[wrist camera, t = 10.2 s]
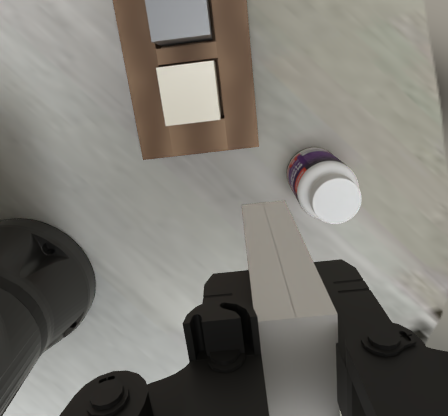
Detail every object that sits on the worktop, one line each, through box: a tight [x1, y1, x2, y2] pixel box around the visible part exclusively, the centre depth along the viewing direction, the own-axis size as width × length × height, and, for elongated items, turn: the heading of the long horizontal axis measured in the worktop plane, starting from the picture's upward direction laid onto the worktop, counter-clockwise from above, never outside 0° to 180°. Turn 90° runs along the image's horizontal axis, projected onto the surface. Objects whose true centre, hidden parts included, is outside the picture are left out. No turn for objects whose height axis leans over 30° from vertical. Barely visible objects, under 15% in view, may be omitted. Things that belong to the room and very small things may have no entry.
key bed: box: [113, 0, 259, 160], centre depth 33 cm, size 11×24×4 cm, turn 7°
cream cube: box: [156, 61, 221, 126], centre depth 33 cm, size 5×5×5 cm
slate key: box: [145, 0, 213, 46], centre depth 31 cm, size 5×5×5 cm
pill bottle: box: [287, 147, 362, 224], centre depth 35 cm, size 5×5×10 cm
